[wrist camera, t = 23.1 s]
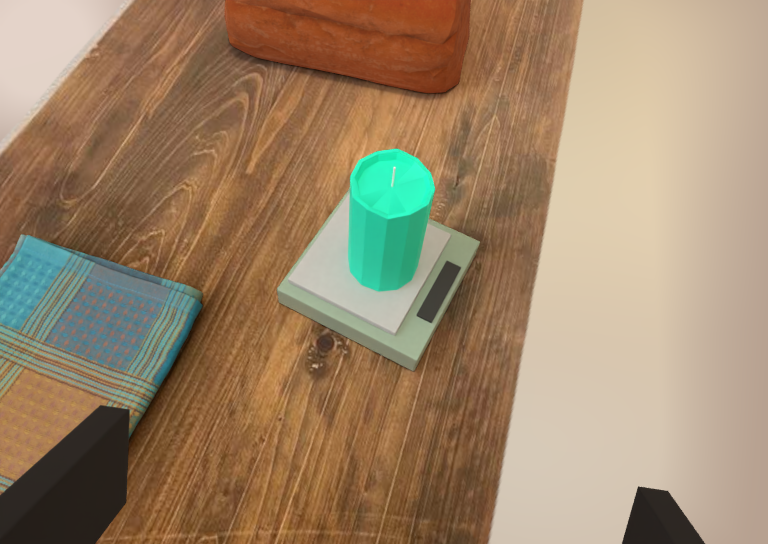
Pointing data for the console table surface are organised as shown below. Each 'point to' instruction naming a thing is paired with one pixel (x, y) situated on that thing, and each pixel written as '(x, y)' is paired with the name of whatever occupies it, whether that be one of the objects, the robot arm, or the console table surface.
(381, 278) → the candle
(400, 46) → the bread
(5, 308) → the dish towel
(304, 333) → the console table surface
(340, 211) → the scale
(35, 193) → the console table surface
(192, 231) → the console table surface
